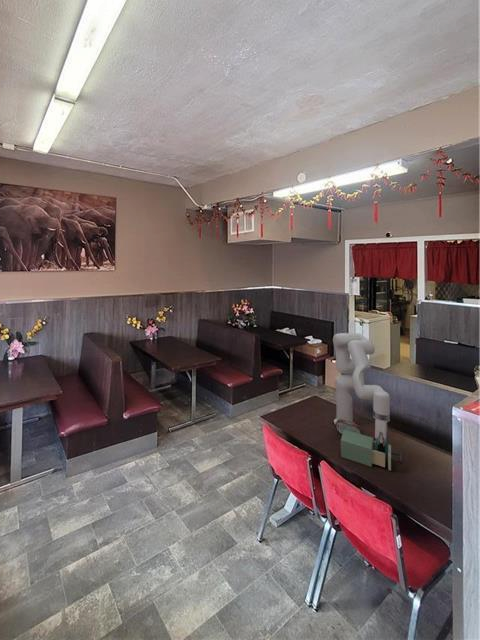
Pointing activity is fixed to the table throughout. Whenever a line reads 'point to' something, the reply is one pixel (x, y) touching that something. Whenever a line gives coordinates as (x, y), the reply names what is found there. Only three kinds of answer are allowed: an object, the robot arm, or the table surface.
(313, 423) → the table surface
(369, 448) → the cabinet
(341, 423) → the tin
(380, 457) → the drawer
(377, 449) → the cube
